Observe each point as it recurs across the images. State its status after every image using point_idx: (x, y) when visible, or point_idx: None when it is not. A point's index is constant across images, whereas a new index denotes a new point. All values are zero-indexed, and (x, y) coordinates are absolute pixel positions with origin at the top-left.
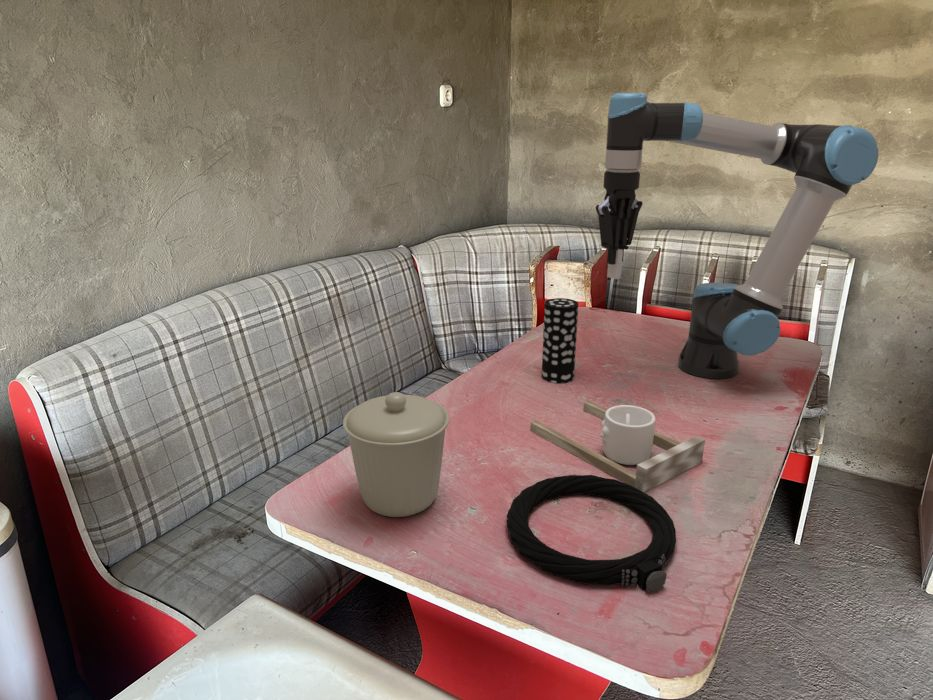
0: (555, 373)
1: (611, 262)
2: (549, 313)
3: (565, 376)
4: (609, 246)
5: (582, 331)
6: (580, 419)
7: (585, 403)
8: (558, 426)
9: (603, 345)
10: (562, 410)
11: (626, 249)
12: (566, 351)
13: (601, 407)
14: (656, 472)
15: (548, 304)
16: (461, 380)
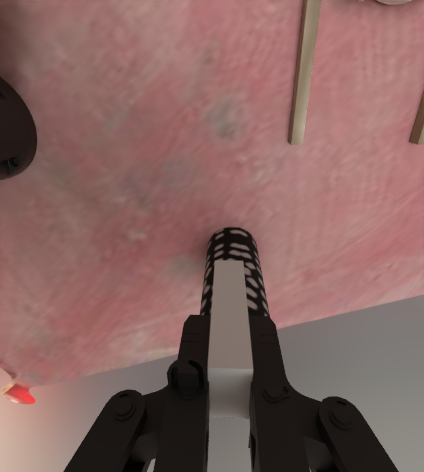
0: (254, 244)
1: (275, 326)
2: None
3: (241, 233)
4: (361, 417)
5: (79, 333)
6: (331, 120)
7: (302, 140)
8: (377, 124)
9: (87, 286)
10: (323, 162)
11: (192, 357)
12: (243, 256)
13: (298, 109)
14: None
15: None
16: (342, 312)
